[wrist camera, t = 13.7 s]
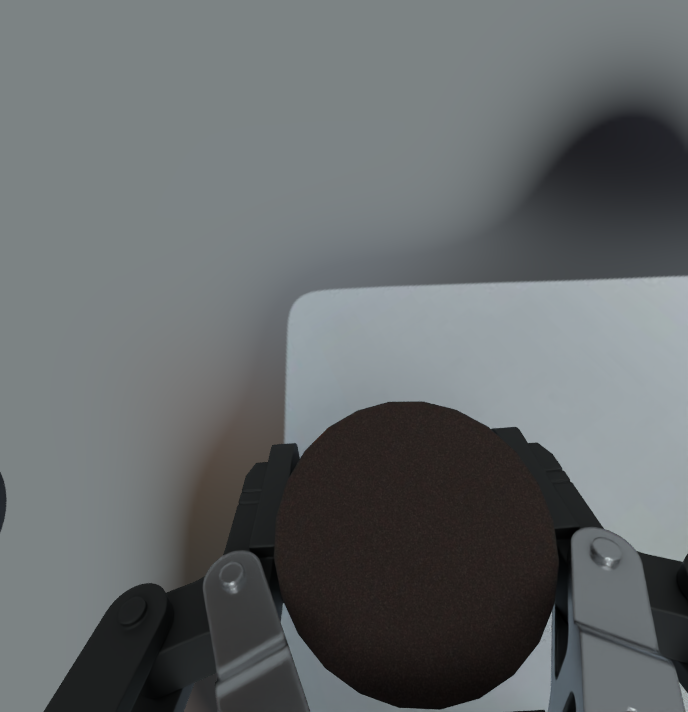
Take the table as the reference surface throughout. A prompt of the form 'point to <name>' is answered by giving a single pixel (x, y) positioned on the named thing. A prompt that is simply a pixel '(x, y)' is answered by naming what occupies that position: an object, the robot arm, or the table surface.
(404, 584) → the deodorant
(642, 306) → the table surface
